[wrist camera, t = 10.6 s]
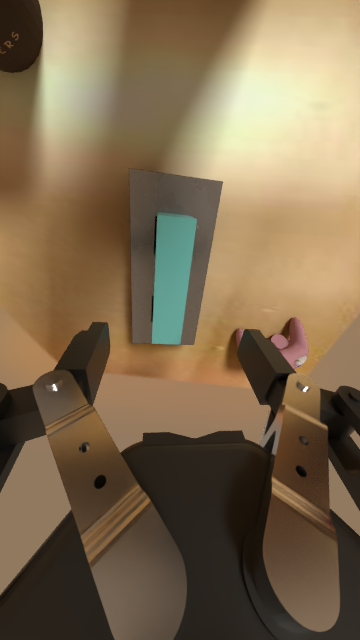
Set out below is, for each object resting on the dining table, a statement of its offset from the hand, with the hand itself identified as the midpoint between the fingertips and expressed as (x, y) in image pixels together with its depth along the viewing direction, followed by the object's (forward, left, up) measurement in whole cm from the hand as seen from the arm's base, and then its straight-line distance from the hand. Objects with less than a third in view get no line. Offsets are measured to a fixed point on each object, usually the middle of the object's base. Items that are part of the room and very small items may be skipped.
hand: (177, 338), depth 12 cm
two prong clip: (0, 0, -14) cm, 14 cm away
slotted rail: (0, 0, -15) cm, 15 cm away
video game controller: (+10, +16, -15) cm, 24 cm away
